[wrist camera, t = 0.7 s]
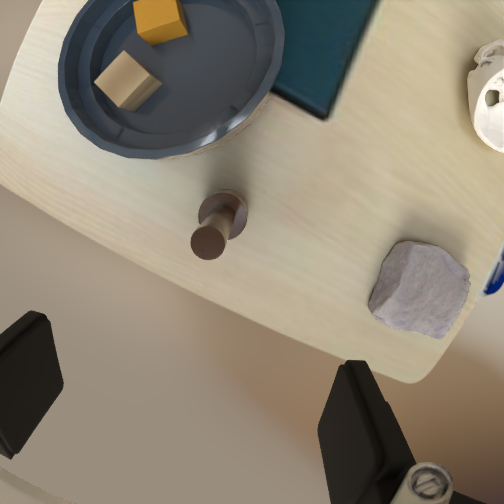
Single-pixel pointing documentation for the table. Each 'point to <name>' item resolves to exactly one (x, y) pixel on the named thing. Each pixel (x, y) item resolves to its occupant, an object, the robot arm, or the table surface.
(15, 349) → the robot arm
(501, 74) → the skull bowl
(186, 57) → the bowl
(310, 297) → the table surface
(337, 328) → the table surface
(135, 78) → the cream block
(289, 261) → the table surface
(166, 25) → the mustard block
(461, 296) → the stone block
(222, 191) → the pestle
